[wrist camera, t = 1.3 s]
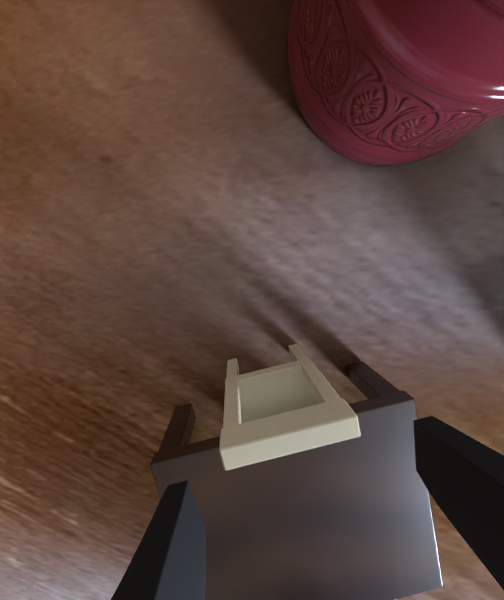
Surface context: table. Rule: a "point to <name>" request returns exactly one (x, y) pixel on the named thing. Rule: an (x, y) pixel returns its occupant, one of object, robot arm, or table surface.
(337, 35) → the kitchen canister
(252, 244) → the table surface
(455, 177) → the table surface
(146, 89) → the table surface
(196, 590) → the robot arm
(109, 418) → the table surface
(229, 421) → the chair
